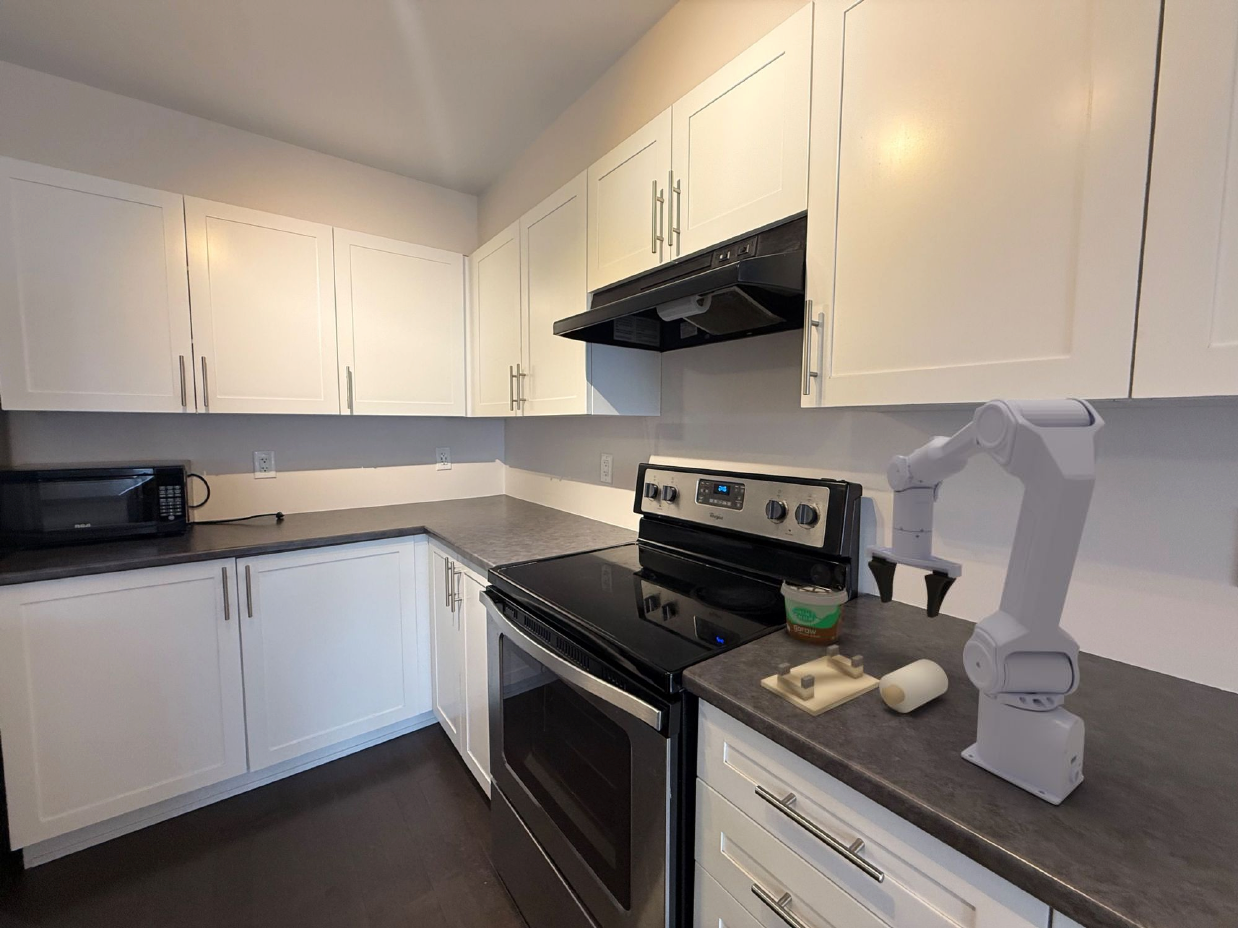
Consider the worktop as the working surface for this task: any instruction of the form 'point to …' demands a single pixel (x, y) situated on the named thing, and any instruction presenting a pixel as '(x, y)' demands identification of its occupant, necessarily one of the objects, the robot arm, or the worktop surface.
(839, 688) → the cradle
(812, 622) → the food container
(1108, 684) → the worktop surface
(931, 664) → the white cylinder with cap
